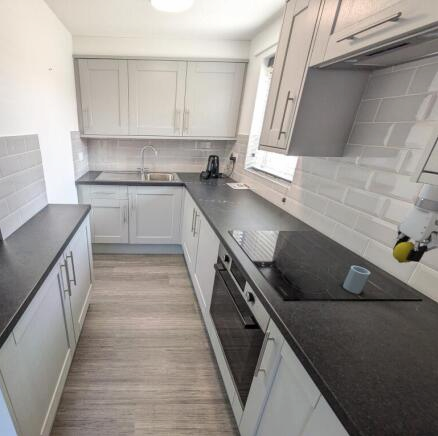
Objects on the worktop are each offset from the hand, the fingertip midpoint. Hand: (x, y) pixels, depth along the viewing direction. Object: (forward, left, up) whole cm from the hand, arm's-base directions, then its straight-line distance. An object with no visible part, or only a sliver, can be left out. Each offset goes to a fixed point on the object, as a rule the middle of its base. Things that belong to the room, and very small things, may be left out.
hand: (405, 255), depth 77 cm
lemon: (0, 0, -3) cm, 3 cm away
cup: (+7, -5, -20) cm, 22 cm away
